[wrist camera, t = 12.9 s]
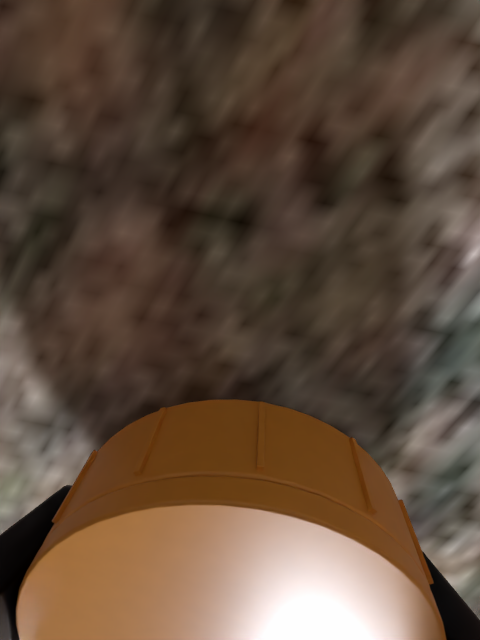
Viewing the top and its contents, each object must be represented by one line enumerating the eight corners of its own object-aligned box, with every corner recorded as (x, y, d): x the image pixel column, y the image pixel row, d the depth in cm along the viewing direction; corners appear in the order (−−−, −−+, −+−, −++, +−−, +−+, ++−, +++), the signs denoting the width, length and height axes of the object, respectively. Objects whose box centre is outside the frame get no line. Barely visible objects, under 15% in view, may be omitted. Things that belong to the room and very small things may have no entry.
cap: (306, 661, 10) (316, 797, 8) (48, 575, 10) (-16, 698, 8) (472, 479, 8) (552, 608, 6) (130, 341, 7) (67, 427, 5)
